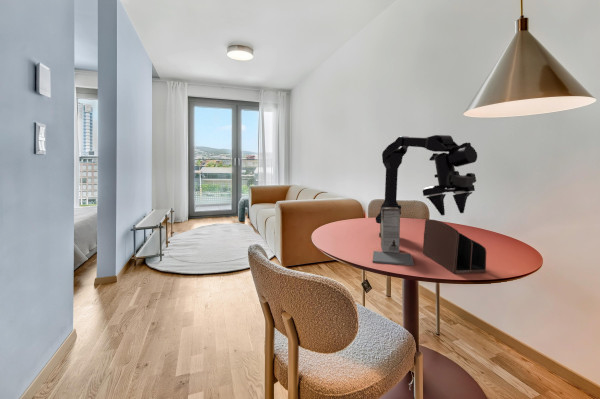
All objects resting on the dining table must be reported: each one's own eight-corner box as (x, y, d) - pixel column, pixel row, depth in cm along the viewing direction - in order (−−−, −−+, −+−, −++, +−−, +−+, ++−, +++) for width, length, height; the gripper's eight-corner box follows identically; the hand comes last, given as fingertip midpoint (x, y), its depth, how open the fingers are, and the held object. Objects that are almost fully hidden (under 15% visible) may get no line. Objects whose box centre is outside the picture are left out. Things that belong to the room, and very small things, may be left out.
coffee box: (380, 246, 113) (380, 207, 112) (397, 247, 112) (397, 207, 111) (382, 252, 104) (382, 208, 103) (400, 253, 103) (400, 209, 102)
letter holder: (454, 274, 84) (456, 228, 83) (422, 254, 104) (423, 216, 102) (486, 273, 85) (489, 227, 83) (448, 253, 104) (450, 215, 103)
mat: (373, 252, 106) (373, 251, 106) (410, 255, 102) (410, 253, 102) (372, 262, 95) (372, 260, 95) (413, 265, 92) (413, 263, 92)
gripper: (445, 164, 88) (453, 214, 86) (485, 164, 95) (493, 210, 93) (418, 172, 98) (425, 217, 97) (456, 171, 105) (463, 212, 104)
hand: (452, 214), depth 97 cm, fingers open, 9 cm apart
